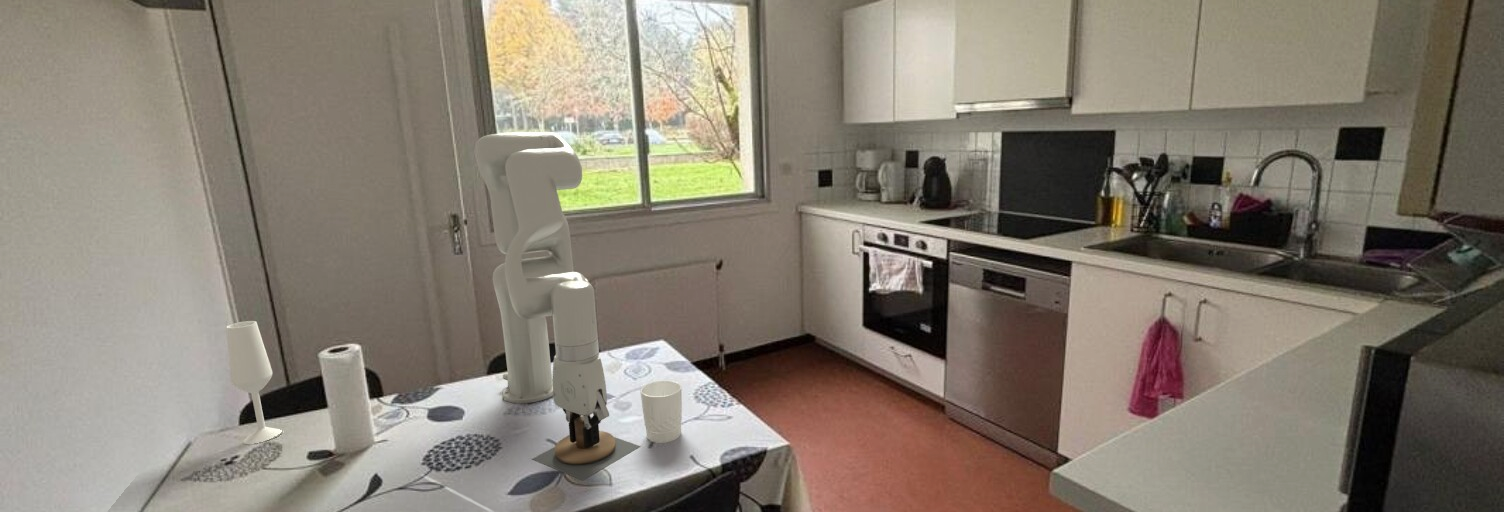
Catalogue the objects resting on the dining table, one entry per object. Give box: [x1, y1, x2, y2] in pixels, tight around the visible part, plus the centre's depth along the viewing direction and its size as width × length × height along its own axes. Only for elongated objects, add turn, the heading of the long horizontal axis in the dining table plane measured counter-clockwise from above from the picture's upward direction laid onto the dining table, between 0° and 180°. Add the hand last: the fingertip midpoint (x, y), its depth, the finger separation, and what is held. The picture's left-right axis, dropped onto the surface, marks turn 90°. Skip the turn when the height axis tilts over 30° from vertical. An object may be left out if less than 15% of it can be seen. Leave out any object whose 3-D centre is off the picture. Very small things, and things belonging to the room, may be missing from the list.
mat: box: [531, 436, 641, 481], centre depth 118 cm, size 14×14×1 cm
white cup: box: [640, 380, 683, 444], centre depth 123 cm, size 8×8×10 cm
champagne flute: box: [226, 320, 283, 445], centre depth 127 cm, size 7×7×24 cm
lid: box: [554, 415, 616, 464], centre depth 118 cm, size 11×11×6 cm
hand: (585, 441), depth 118 cm, fingers closed on lid, 3 cm apart
